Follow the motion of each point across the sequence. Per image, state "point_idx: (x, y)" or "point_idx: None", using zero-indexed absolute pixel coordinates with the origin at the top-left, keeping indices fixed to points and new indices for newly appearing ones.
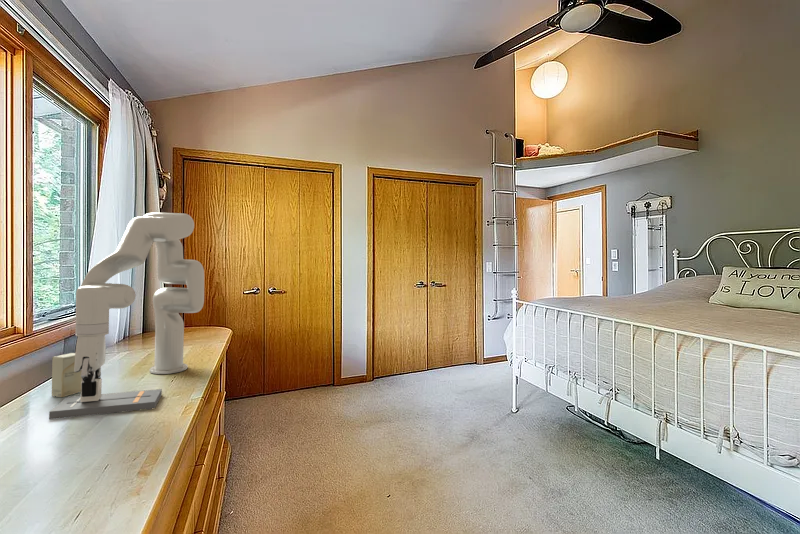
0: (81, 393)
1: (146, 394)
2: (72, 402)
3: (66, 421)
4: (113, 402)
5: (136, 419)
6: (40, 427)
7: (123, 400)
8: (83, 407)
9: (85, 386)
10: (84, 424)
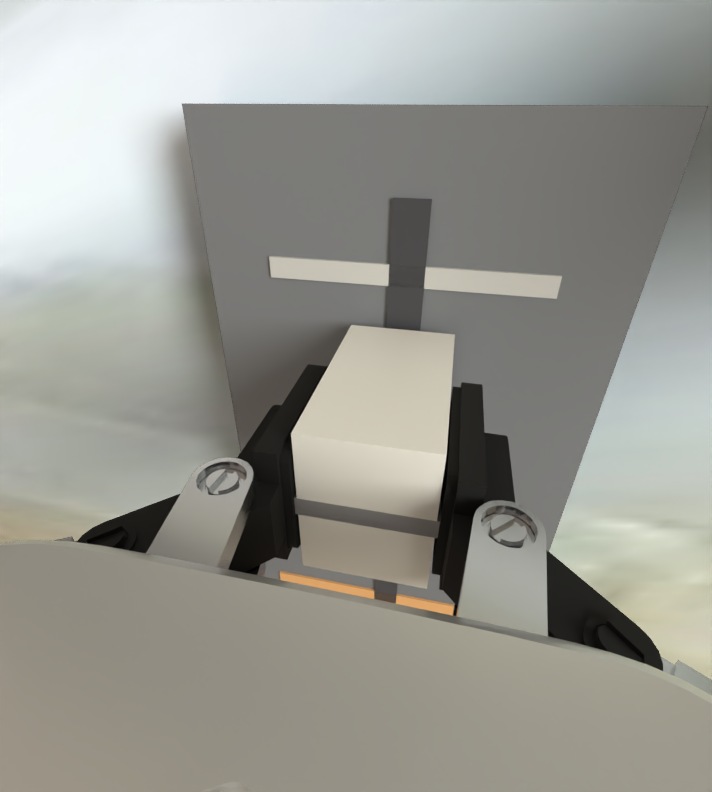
0: (332, 367)
1: None
2: (401, 247)
3: (161, 257)
4: None
5: None
6: (57, 108)
7: None
8: (247, 356)
9: (246, 455)
10: (110, 365)
